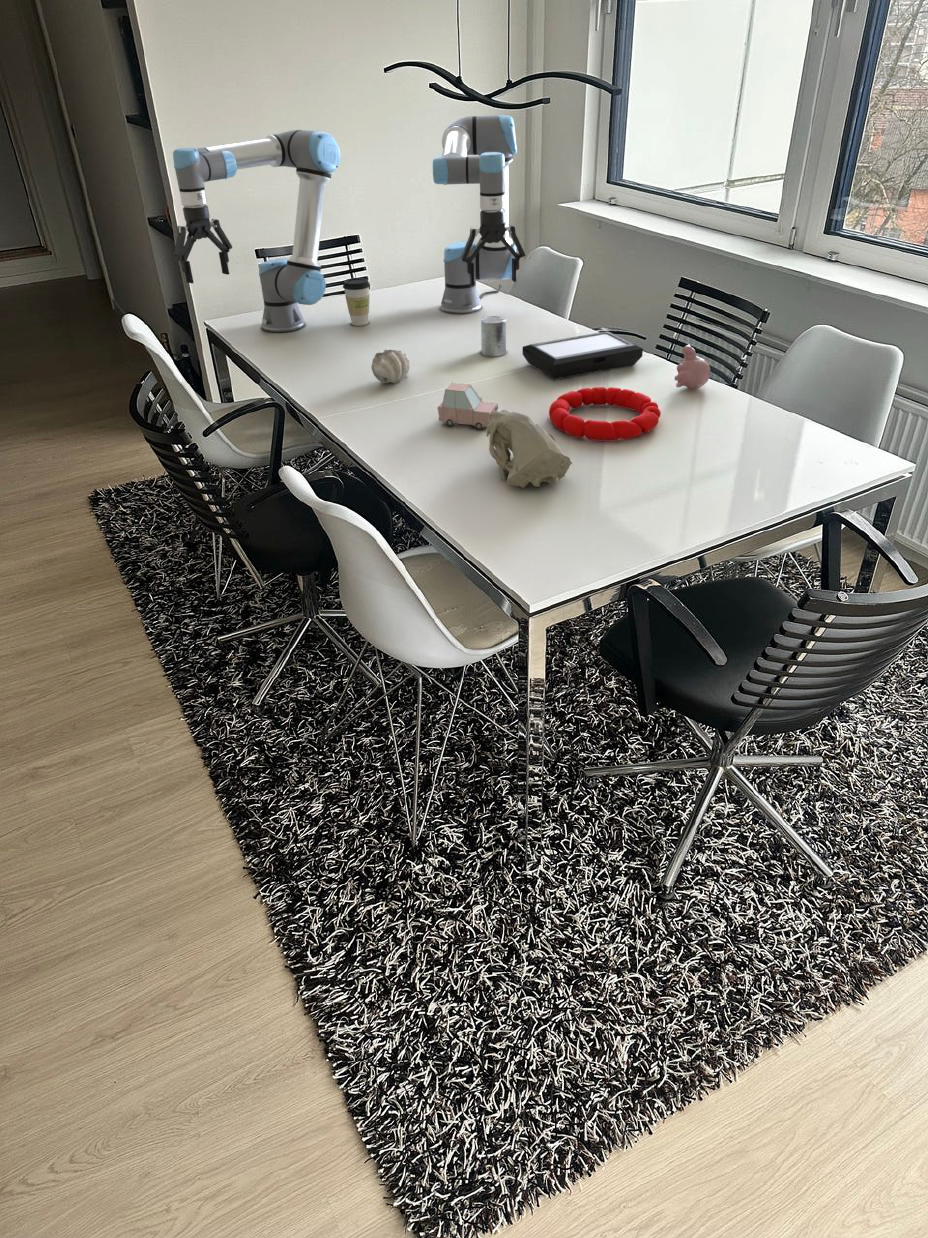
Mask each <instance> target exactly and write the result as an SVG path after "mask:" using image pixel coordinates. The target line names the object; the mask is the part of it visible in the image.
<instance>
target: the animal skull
mask: <svg viewBox="0 0 928 1238" xmlns="http://www.w3.org/2000/svg"><path fill="white" fill-rule="evenodd" d="M485 436H486V438H487V437H489V438H488V440H489V444H488V445H489V446H488V450H489V454H490V456H491V457H492V458H493V459H494V460H495V462H496V464H497V466H499V468H500V470H501V471H502V472H501V478H502V479H507V480H506V484H507V486H517V487H518V486H519V488H523V489H524V488H526V486H527V485H529V483H531V485H533V486H534V487H536V488H540V485H541V484H542V482H544V483H549V484H550V485H553V484H555V483H556V482H557V480H561V479H563V478H565V476H566V474H567V472H568V471H569V469H570V467H571V466H572V464H573V462H572V461H571V458H570V457H568V456H567V455H565V453H564V451H562V449H561V448H560V446H559V444H557V443H556V439H555V438H554V436H553V435H551V434H550V433H548V432H547V431H546V430H545V429H544V428H542V427H541V426H539V425H538V424H537V423H536V424H535V422H534V421H533V419H532V418H531V417H530V416H529V415H527V414H524V413H519V412H515V411H509V410H507V409H502V410H500V411H499V410H497V411H496V412H492V413H491V414H490V422H488V423H487V427H486V435H485ZM511 453H512V454H511ZM511 455H512V457H513V458H512V460H511ZM507 474H508V475H507Z"/></svg>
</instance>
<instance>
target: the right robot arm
mask: <svg viewBox="0 0 928 1238" xmlns="http://www.w3.org/2000/svg"><path fill="white" fill-rule="evenodd" d="M516 138H517V137H516V128H515V122H514V119H513V117H512V116H511V115H502V114H493V115H492V114H491V115H475V116H474V115H469V116H468V115H467V116H464V117H461V118H458V119H457V120H455V121H453V122H452V123H451V124H449V125H448V126H447V128H446V129H445V130H444V131H443V135H442V138H441V146H442V154H441V156H439V157H438V156H437V157H434V158H433V159H432V179H433V183H434V184H435V185H444V186H447V185H470V184H471V185H472V184H475V185H476V184H479V209H480V210H481V211H480V212H479V217H480V218H479V222H480V223H479V225H480V226H479V228H474V227H470V228H469V235H468V239H467V240H464V241H459V242H454V243H451V244H449V245H447V246H446V247H445V248H444V250H443V263H444V264H443V265H444V291H443V294H442V299H441V302H440V309H441V311H442V312H445V313H449V314H456V315H457V314H458V315H459V314H470V313H475V312H477V311H479V310H481V308H482V301H481V298H482V297H483V296H485V295H488V294H495V293H498V292H500V291H501V289H502V284H499V285H498V289H496V290H491V291H485V292H482V293H481V294H480V295H479V292H478V289H477V281H478V280H480V281H481V280H484V281H485V280H500V281H501V280H509V279H511V281H512V282H513V283H516V282H517V271H519V270H520V260H521V258H524V257H526V253H525V251H524V248H523V247H522V244H521V243H520V240H519V238H518V235H517V232H516V227H515V226H514V225H513V224H510V225H509V165H510V164H511V163H512V162H513V160H514V155H517V153H518V147H517V139H516ZM478 234H479V235H480V238H479V240H478V242H477V243H476V242H475V239H476V237H477V236H478ZM509 235H510V236H509ZM513 243H514V244H513ZM517 251H518V252H517Z"/></svg>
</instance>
